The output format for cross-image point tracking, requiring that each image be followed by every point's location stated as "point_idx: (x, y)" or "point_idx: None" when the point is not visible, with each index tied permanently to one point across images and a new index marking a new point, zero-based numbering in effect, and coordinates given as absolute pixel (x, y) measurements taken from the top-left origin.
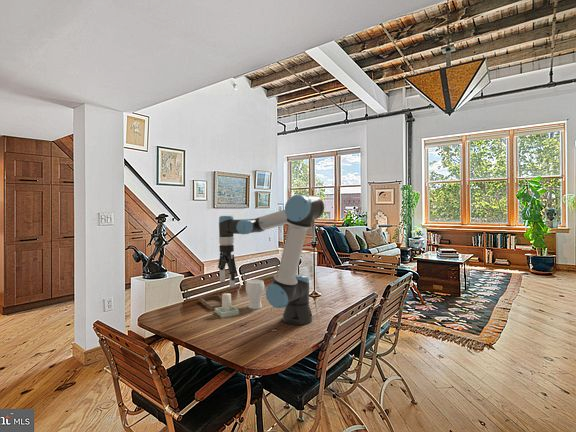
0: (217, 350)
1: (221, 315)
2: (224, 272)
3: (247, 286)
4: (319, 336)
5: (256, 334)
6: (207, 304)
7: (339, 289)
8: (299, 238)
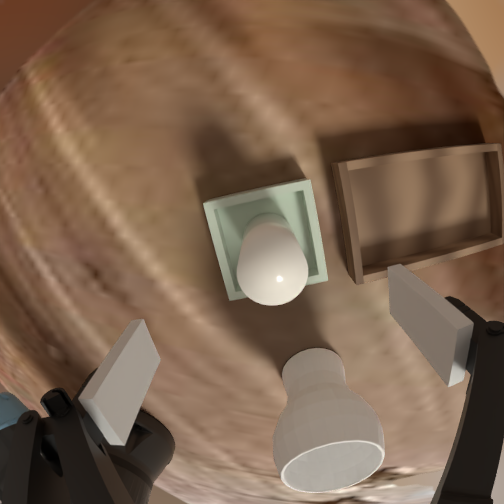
0: None
1: (205, 201)
2: (433, 362)
3: (317, 423)
4: (31, 409)
5: (25, 294)
6: (397, 153)
7: None
8: None
